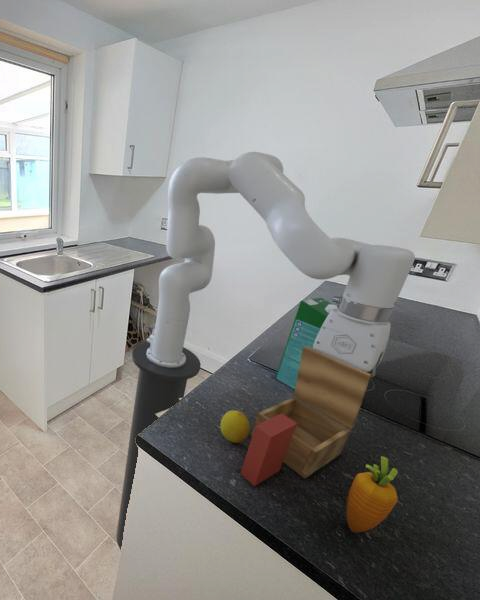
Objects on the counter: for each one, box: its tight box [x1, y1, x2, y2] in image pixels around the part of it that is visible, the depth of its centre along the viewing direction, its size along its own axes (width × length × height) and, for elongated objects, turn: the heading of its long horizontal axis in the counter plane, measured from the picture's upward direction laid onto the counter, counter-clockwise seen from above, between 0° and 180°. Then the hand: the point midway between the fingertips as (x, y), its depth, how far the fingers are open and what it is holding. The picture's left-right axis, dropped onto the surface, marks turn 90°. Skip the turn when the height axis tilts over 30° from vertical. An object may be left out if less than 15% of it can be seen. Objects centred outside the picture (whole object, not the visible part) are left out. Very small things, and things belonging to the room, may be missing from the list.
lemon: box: [219, 410, 250, 444], centre depth 67 cm, size 6×6×8 cm
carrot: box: [345, 456, 399, 534], centre depth 49 cm, size 5×5×15 cm
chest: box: [250, 396, 352, 479], centre depth 67 cm, size 14×12×7 cm
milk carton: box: [275, 297, 338, 390], centre depth 86 cm, size 9×9×25 cm
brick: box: [239, 413, 297, 487], centre depth 59 cm, size 3×8×12 cm, turn 117°
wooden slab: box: [293, 346, 371, 430], centre depth 65 cm, size 14×12×1 cm
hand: (331, 388), depth 67 cm, fingers closed
